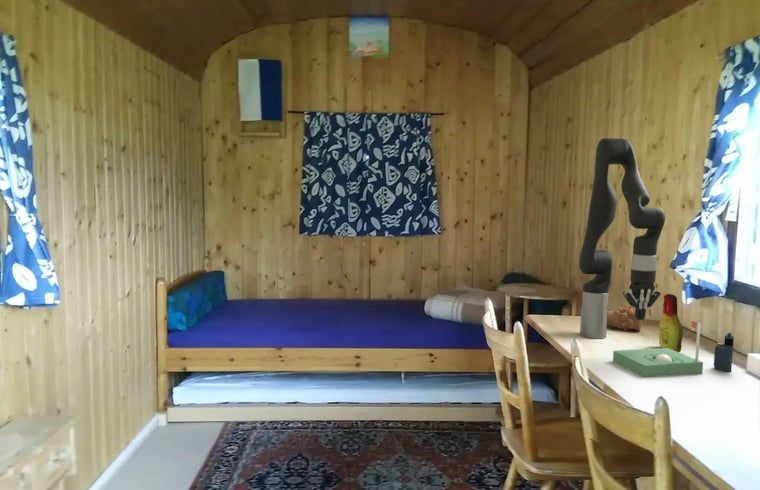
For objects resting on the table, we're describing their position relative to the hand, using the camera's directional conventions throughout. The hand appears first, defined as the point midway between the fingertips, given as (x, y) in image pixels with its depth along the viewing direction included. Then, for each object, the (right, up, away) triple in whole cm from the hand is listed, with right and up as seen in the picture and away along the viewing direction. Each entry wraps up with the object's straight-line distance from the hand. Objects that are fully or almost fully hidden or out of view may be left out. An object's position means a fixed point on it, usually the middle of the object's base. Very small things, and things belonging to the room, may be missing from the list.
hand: (639, 319), depth 189 cm
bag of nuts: (+12, -9, +44) cm, 47 cm away
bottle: (+15, -13, +11) cm, 23 cm away
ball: (+2, -12, -11) cm, 17 cm away
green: (+2, -14, -8) cm, 16 cm away
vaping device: (+22, -15, -10) cm, 28 cm away
